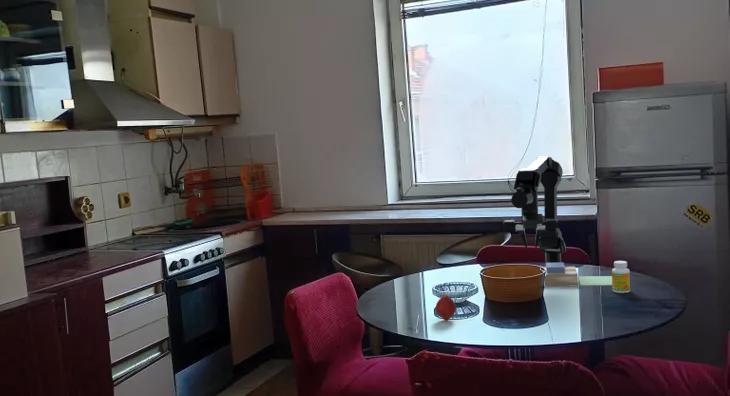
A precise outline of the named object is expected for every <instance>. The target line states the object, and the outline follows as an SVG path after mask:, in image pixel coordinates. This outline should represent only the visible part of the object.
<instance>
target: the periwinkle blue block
mask: <svg viewBox="0 0 730 396" xmlns="http://www.w3.org/2000/svg"><path fill="white" fill-rule="evenodd" d="M545 265H546V269H547V273H565V267H566V266H565V263H564V262H563V261H562V262H561V263H546V262H545Z"/></svg>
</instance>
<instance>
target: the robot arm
mask: <svg viewBox="0 0 730 396" xmlns="http://www.w3.org/2000/svg"><path fill="white" fill-rule="evenodd" d="M563 171H564V170H563V167H562V166H561V164H560V163H559V162H558V161H556V160H554V159H553V158H552V156H549V155H548V156H547V155H544V156H543V155H540V156H538V157H536V160H534V161H533V162H532V163H531V165H529V166H528V167H523V168H520V169H519V170H518V171H517V172H516V176H515V181H514V187H513V190H515V191H516V192H514V193H512V196H511V199H510V200H511V204H512V206H513V207H514V208H516V209H521V221H515V219H505V220H503V222H502V230H503V231H513V229H515V232H516V233H519V234H520V237H521V239H522V242H523V245H524V247H525V249H526V250H528V242H527V236H526V231H525V230H526V229H527V230H528V229H535V232H536V233H535V242H534V248H535V250H536V249H537V247H538V245H539V252H540V253H544V254H545V255H544V256H545V264H544V267H546V263H562V255H561V254H563V253H566V251H567V248H566V247H567V246H566V243H565V241H564V238H563V236H562V234H563V233H562V231H561V230H560V228H559V220H558V186H559V185H560V183H561V182H562V177H563ZM540 184H541V185H542V187H543V191H544V193H543V194H544V195H543V196H544V198H543V200H544V207H543V209H544V210H543V211H544V215H543V213H539V200H538V191H539V187H540Z"/></svg>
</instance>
